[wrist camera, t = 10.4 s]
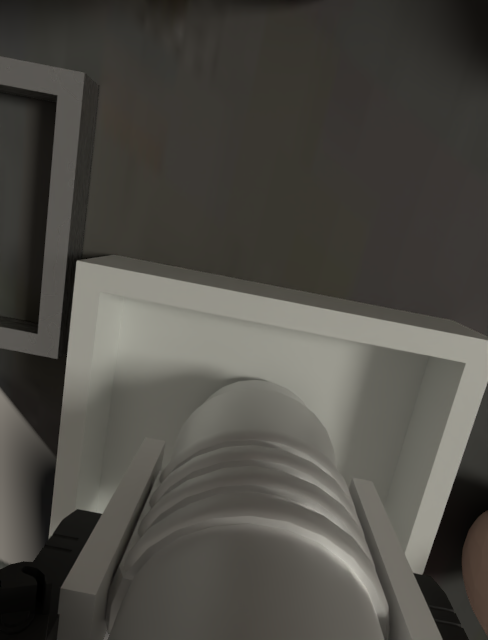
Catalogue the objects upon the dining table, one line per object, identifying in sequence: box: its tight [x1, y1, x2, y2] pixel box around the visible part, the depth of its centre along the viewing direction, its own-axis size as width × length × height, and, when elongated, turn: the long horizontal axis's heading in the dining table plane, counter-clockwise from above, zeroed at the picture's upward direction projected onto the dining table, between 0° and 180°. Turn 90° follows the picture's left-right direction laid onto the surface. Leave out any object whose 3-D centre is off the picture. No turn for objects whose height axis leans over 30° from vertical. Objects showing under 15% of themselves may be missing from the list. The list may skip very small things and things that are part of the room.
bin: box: [49, 255, 488, 575], centre depth 19 cm, size 14×16×4 cm
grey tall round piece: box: [105, 380, 390, 640], centre depth 12 cm, size 7×7×15 cm
